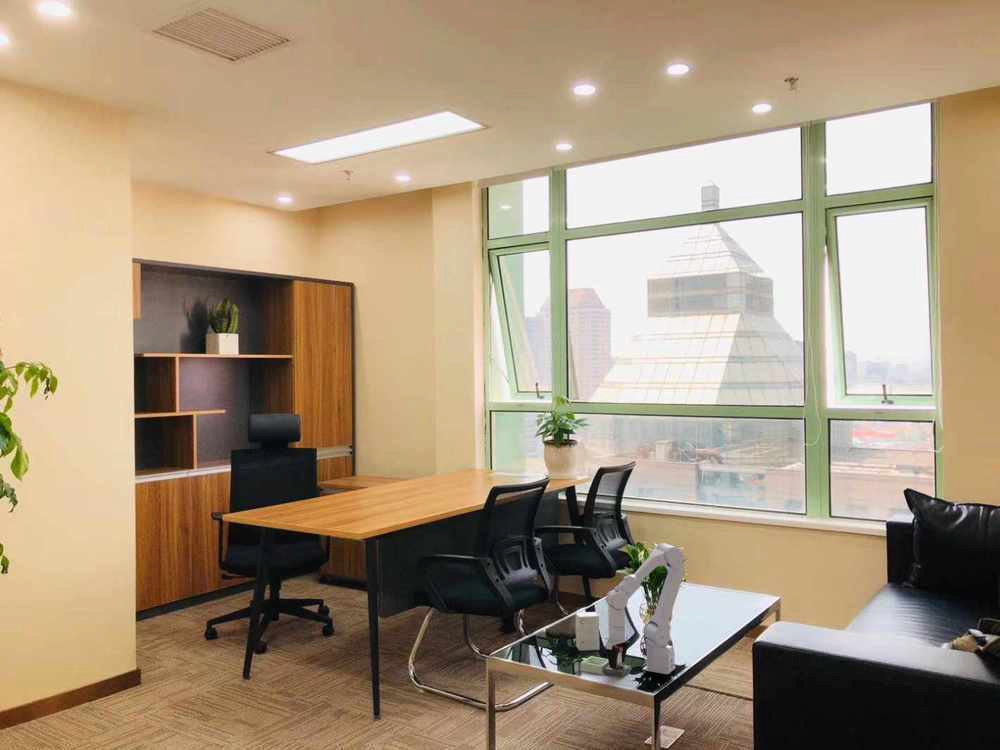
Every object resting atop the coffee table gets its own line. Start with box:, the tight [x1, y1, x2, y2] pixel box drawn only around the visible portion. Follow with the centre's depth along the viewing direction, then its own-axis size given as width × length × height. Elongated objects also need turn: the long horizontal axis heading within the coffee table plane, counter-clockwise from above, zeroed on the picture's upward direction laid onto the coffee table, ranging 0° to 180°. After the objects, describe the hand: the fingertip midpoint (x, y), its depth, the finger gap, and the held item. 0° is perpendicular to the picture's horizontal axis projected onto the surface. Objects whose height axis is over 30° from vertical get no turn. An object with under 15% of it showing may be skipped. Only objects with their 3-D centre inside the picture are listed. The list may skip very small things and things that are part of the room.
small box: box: [575, 611, 600, 651], centre depth 316 cm, size 8×6×13 cm
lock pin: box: [613, 646, 623, 670], centre depth 287 cm, size 4×4×9 cm
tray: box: [580, 655, 609, 675], centre depth 291 cm, size 8×8×3 cm
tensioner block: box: [603, 664, 631, 678], centre depth 287 cm, size 7×7×2 cm
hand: (617, 664), depth 287 cm, fingers open, 6 cm apart
